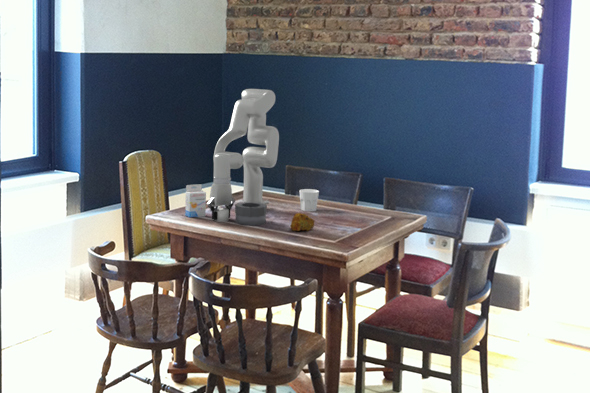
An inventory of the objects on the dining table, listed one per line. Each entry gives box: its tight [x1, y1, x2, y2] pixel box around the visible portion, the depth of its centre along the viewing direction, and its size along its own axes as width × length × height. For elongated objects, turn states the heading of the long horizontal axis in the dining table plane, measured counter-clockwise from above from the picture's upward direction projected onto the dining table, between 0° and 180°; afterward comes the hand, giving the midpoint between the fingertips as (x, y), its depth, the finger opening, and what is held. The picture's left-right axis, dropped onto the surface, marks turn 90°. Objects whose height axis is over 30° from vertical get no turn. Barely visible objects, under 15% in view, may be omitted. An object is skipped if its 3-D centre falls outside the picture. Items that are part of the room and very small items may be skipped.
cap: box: [213, 206, 230, 223], centre depth 305 cm, size 7×7×6 cm
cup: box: [299, 188, 320, 212], centre depth 336 cm, size 10×10×10 cm
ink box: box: [184, 183, 207, 218], centre depth 311 cm, size 8×5×15 cm, turn 123°
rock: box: [289, 212, 315, 232], centre depth 293 cm, size 11×8×10 cm
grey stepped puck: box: [234, 201, 268, 226], centre depth 304 cm, size 14×14×8 cm
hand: (221, 218), depth 306 cm, fingers closed on cap, 7 cm apart
